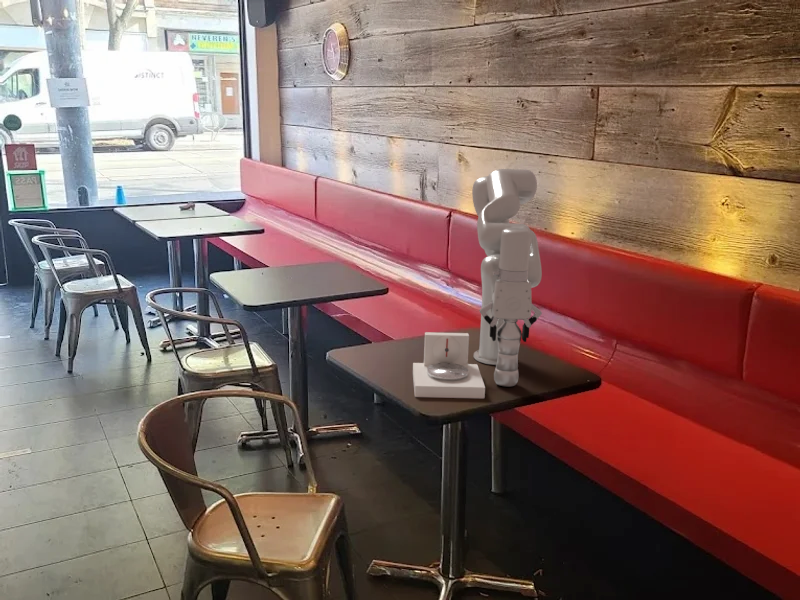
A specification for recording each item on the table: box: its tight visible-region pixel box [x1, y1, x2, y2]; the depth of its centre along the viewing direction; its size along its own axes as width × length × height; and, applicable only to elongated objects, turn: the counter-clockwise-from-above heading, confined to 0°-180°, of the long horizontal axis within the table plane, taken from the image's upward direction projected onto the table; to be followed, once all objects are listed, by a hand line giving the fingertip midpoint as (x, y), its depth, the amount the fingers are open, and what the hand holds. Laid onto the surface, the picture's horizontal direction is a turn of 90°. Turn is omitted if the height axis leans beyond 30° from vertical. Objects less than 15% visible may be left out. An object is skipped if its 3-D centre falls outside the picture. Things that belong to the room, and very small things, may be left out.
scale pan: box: [427, 363, 468, 380], centre depth 201 cm, size 11×11×1 cm
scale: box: [412, 331, 486, 399], centre depth 201 cm, size 18×18×12 cm
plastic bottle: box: [493, 319, 522, 388], centre depth 201 cm, size 6×7×20 cm
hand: (508, 339), depth 200 cm, fingers open, 7 cm apart
